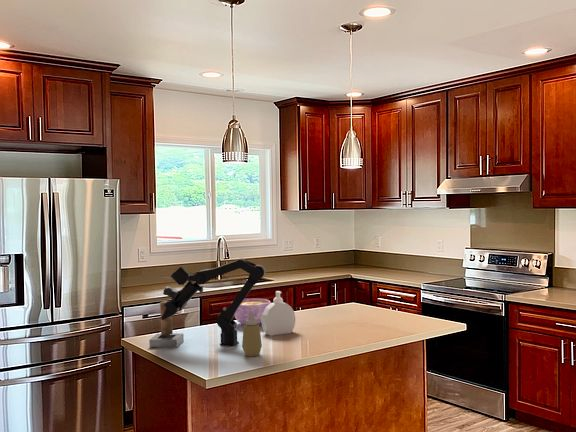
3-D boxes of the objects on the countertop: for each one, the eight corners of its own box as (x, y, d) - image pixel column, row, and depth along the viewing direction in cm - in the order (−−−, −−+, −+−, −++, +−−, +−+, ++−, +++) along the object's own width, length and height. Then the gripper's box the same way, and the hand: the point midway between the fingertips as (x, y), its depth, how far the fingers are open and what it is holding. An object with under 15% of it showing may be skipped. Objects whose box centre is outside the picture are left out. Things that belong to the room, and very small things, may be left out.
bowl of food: (263, 319, 312) (263, 297, 312) (276, 326, 293) (276, 303, 293) (227, 322, 305) (226, 300, 304) (238, 330, 286) (237, 306, 286)
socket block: (183, 341, 266) (183, 333, 266) (176, 347, 254) (176, 339, 254) (157, 341, 267) (157, 333, 267) (149, 347, 255) (149, 339, 255)
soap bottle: (266, 336, 271) (265, 293, 271) (261, 334, 276) (260, 292, 275) (296, 332, 279) (295, 290, 278) (290, 330, 284) (290, 289, 283)
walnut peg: (172, 332, 263) (171, 300, 263) (172, 334, 258) (171, 302, 258) (161, 332, 262) (160, 301, 262) (161, 335, 257) (159, 303, 257)
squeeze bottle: (262, 352, 243) (261, 309, 243) (261, 357, 235) (260, 312, 235) (242, 352, 243) (241, 309, 243) (241, 358, 235) (240, 313, 235)
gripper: (179, 277, 269) (156, 301, 270) (168, 283, 250) (143, 309, 251) (196, 294, 268) (173, 318, 269) (187, 301, 250) (162, 327, 251)
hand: (163, 318), depth 260 cm, fingers closed on walnut peg, 5 cm apart
